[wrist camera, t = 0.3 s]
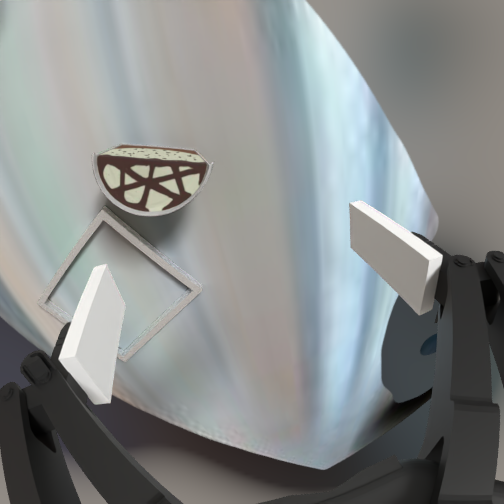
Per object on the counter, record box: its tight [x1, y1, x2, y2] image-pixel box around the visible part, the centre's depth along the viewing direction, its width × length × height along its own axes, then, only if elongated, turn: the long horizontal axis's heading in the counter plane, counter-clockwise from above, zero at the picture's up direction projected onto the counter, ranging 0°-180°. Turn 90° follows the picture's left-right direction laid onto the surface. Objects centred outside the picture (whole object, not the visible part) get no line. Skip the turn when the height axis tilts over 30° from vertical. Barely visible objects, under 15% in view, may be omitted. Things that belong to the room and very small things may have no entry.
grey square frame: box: [37, 206, 203, 362], centre depth 42 cm, size 18×20×2 cm
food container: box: [92, 144, 214, 217], centre depth 32 cm, size 12×6×10 cm, turn 80°
